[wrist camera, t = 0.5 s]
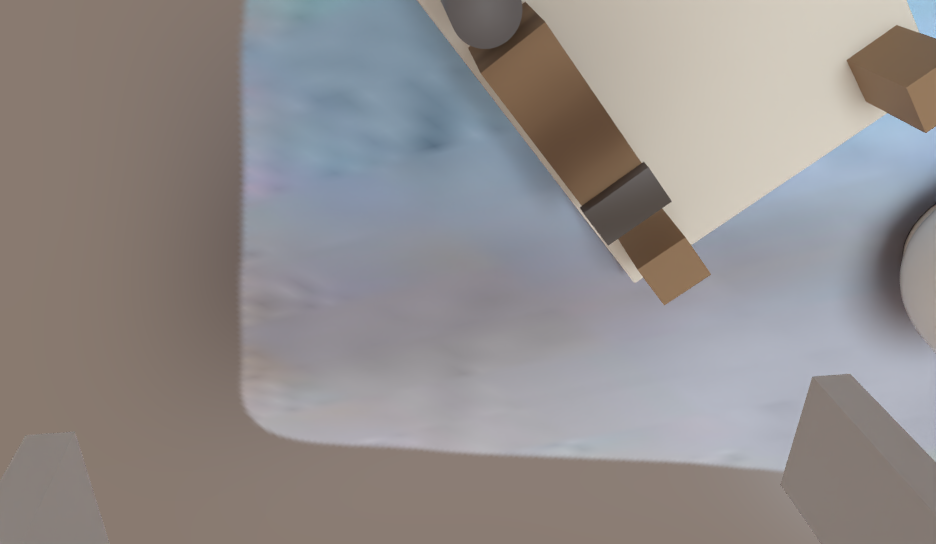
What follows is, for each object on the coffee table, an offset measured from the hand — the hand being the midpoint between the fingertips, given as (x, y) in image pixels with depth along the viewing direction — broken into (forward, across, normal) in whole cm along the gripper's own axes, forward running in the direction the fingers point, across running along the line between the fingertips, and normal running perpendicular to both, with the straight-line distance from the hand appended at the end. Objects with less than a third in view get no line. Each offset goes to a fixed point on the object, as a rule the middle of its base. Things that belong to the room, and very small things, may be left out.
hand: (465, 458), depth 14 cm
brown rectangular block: (+22, +7, 0) cm, 23 cm away
